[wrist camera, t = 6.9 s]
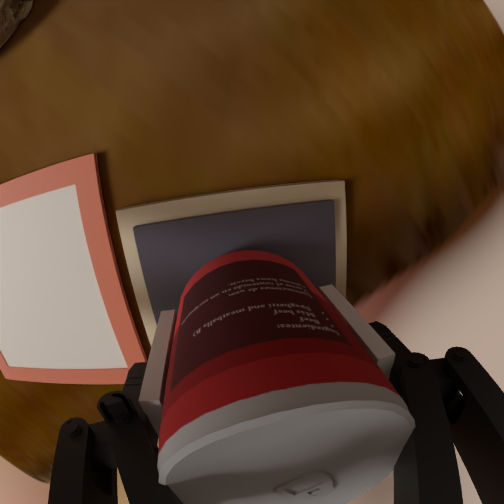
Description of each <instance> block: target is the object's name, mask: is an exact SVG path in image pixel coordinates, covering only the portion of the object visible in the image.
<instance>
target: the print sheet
mask: <svg viewBox="0 0 504 504" xmlns="http://www.w3.org/2000/svg"><path fill="white" fill-rule="evenodd" d="M138 362H148V360H147V358H146V355H145V352H144V349H143V347H142V344H141V341H140V338H139V335H138V332H137V329H136V326H135V323H134V320H133V317H132V314H131V311H130V308H129V304H128V301H127V298H126V294H125V291H124V287H123V284H122V280H121V276H120V273H119V269H118V265H117V261H116V257H115V253H114V248H113V244H112V240H111V235H110V231H109V226H108V221H107V216H106V211H105V205H104V200H103V194H102V188H101V181H100V175H99V167H98V160H97V153H93V154H89V155H85V156H82V157H78V158H75V159H71V160H68V161H65V162H62V163H58V164H55V165H52V166H49V167H46V168H43V169H40V170H38V171H35V172H32V173H29V174H26V175H24V176H21V177H18V178H16V179H13V180H11V181H8V182H6V183H3V184H1V185H0V369H1V371H2V373H3V375H4V376H5V378H6V379H11V380H21V381H31V382H45V383H63V384H125V381H126V379H127V378H126V377H127V374H128V371H129V369H130V368H131V367H132V366H133V365H134V363H138Z"/></svg>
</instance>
